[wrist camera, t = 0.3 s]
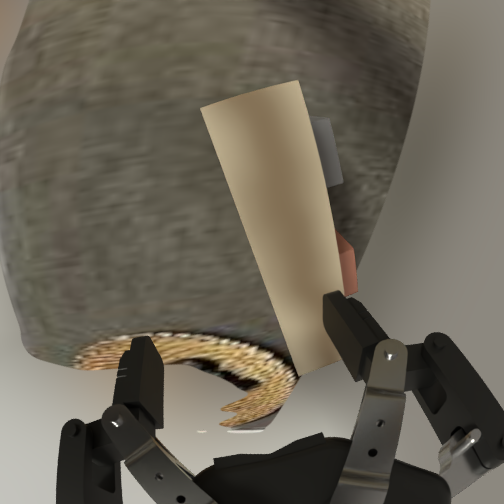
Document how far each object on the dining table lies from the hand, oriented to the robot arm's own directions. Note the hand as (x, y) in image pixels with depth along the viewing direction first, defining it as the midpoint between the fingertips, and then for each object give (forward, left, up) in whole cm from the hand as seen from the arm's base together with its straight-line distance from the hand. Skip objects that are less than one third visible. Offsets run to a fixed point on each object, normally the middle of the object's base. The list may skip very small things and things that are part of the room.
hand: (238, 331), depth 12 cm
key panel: (-2, +4, -21) cm, 22 cm away
